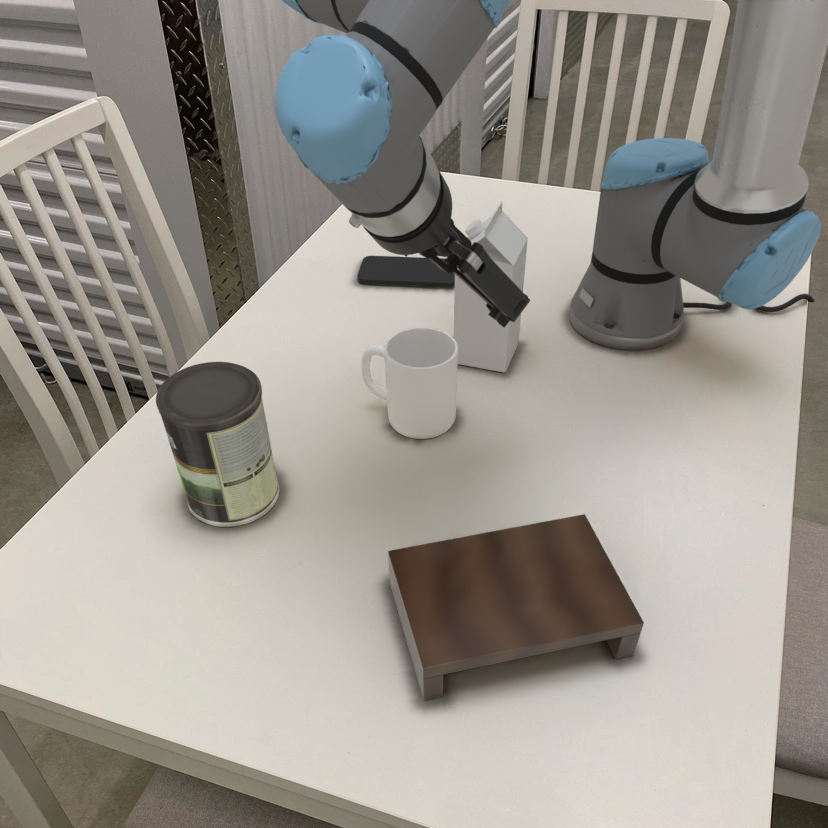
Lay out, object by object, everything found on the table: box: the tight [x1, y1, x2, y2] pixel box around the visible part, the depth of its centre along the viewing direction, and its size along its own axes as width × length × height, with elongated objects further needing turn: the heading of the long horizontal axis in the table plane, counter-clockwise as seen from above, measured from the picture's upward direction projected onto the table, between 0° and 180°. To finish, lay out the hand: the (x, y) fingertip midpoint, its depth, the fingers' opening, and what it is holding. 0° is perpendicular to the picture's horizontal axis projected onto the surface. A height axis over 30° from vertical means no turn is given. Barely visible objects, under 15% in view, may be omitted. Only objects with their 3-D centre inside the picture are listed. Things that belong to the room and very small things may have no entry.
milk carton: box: [453, 200, 529, 373], centre depth 102 cm, size 7×7×19 cm
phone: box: [356, 255, 455, 288], centre depth 123 cm, size 7×1×15 cm
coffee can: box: [155, 361, 280, 528], centre depth 86 cm, size 10×10×14 cm
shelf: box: [387, 513, 645, 701], centre depth 77 cm, size 20×14×5 cm
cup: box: [360, 326, 458, 440], centre depth 96 cm, size 8×12×10 cm
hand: (459, 279), depth 86 cm, fingers open, 13 cm apart
